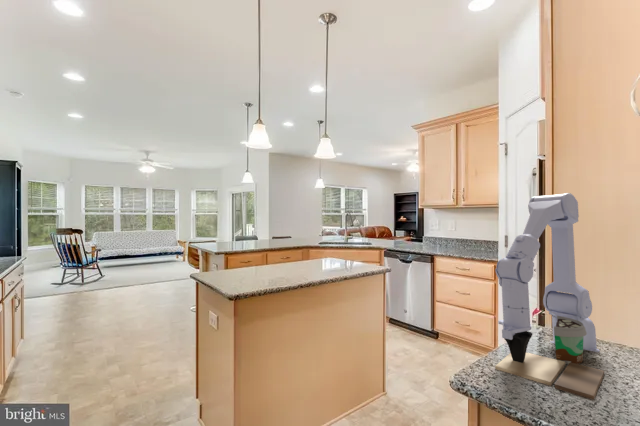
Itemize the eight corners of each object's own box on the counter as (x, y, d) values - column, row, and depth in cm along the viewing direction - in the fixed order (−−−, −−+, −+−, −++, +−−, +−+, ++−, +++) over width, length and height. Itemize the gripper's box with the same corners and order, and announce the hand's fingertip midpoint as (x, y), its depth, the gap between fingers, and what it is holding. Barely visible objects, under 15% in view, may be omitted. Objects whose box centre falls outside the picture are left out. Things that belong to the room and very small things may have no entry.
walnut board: (570, 369, 75) (569, 362, 75) (604, 378, 70) (604, 370, 70) (555, 392, 65) (554, 384, 65) (594, 404, 61) (593, 395, 61)
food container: (589, 375, 72) (586, 332, 72) (556, 368, 76) (553, 327, 76) (588, 357, 81) (586, 319, 82) (559, 351, 85) (557, 315, 86)
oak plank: (565, 368, 75) (565, 361, 75) (551, 389, 66) (550, 382, 66) (514, 355, 84) (514, 349, 84) (495, 372, 74) (495, 365, 74)
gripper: (508, 298, 85) (510, 348, 85) (487, 308, 76) (489, 365, 75) (538, 303, 80) (541, 356, 79) (520, 314, 70) (523, 375, 70)
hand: (518, 361), depth 77 cm, fingers closed, pressing on oak plank
